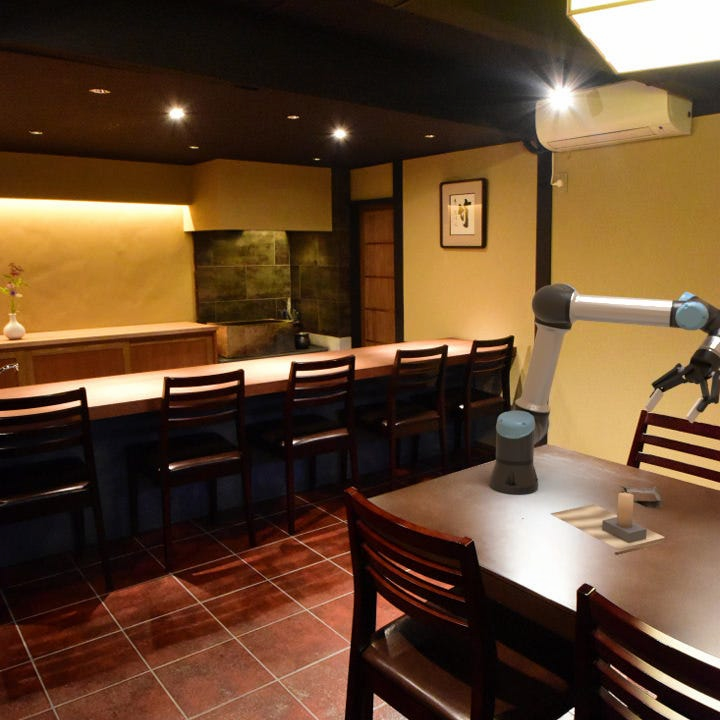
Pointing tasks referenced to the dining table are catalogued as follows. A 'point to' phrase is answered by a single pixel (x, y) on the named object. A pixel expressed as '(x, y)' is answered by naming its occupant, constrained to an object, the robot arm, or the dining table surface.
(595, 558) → the dining table surface
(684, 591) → the dining table surface
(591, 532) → the birch board
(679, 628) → the dining table surface
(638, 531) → the sanding block
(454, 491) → the dining table surface
